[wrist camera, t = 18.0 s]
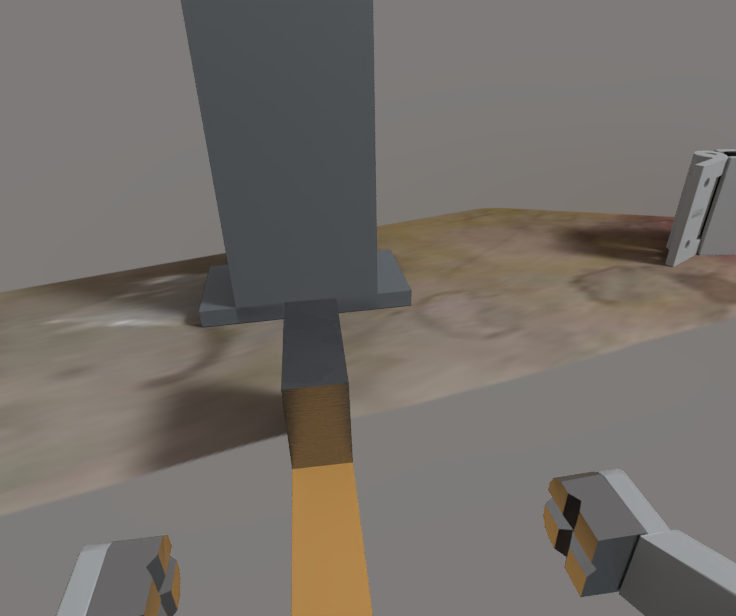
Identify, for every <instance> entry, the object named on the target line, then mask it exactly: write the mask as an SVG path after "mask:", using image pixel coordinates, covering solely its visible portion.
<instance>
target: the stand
mask: <svg viewBox="0 0 736 616" xmlns="http://www.w3.org/2000/svg"><path fill="white" fill-rule="evenodd" d="M181 4H182V10H183V15H184V21H185V27H186V32H187V38H188V44H189V49H190V54H191V60H192V65H193V72H194V77H195V83H196V88H197V94H198V99H199V105H200V111H201V116H202V121H203V127H204V133H205V139H206V144H207V149H208V155H209V161H210V166H211V172H212V178H213V183H214V189H215V194H216V200H217V205H218V211H219V217H220V222H221V228H222V233H223V239H224V245H225V250H226V256H227V261H228V265H216V266H210V268H209V272H208V276H207V280H206V284H205V288H204V292H203V297H202V301H201V305H200V309H199V315H200V320H201V324H202V327H209V326H218V325H228V324H237V323H247V322H256V321H266V320H275V319H284V302H295V301H308V300H320V299H333V298H336V301H337V308H338V313H342V312H351V311H361V310H370V309H380V308H389V307H399V306H408V305H411V288H410V287H409V285H408V283H407V281H406V279H405V277H404V275H403V273H402V271H401V269H400V267H399V265H398V264H397V262H396V260H395V258H394V256H393V254H392V252H391V250H384V251H377V223H376V167H375V166H376V161H375V102H374V101H375V99H374V98H375V97H374V36H373V0H181Z"/></svg>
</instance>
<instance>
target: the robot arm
mask: <svg viewBox="0 0 736 616" xmlns="http://www.w3.org/2000/svg"><path fill="white" fill-rule="evenodd" d="M548 490H549V492H550V494H551V496H552V498H551V499H550V500H549V501H548V502H547V503H546V504H545V508H544V514H543V516H544V523H545V528H546V531H547V534H548V537H549V539H550V541H551V543H552V545H553V547H554V548H555V549H556V550H557V551H559V552H560V553H562V554H563V555H564V556H566V561H565V569H566V571H567V573H568V575H569V577H570V579H571V580H572V582H573V584H574V586H575V588H576V590H577V591H578V593H579V595H580V597H585V596H592V595H599V594H606V593H613V592H619V591H620V592H619V594H620V595H621V596H622V597H623V598H624V599H626V600H627V601H628V602H629V603H630V604H631V605H633V606H634V607H635V608H636V609H637V610H639V611H640V612H641V613H642V614H644V615H645V616H736V563H734V562H732V561H731V560H729V559H727V558H726V557H724V556H722V555H720V554H719V553H717V552H715V551H713V550H712V549H710V548H708V547H707V546H705V545H703V544H701V543H700V542H698V541H696V540H694V539H693V538H691V537H689V536H687V535H686V534H684V533H682V532H680V531H679V530H670V529H669V528H668V526H666V524H665V523H664V521H663V520H662V519H661V518H660V516H659V515H658V514H657V513H656V511H655V510H654V509H653V508H652V506H651V505H650V504H649V503H648V501H647V500H646V499H645V497H644V496H643V495H642V494H641V492H640V491H639V490H638V489H637V487H636V486H635V485H634V484H633V483H632V481H631V480H630V479H629V478H628V476H627V475H626V474H625V473H624V472H623V471H622V470H620V469H612V470H605V471H599V472H588V473H582V474H576V475H570V476H563V477H557V478H553V480H552V481H551V482H550V485H549V489H548ZM171 547H172V545H171V542H170V540H169V537H168V535H165V536H156V537H148V538H140V539H131V540H124V541H123V540H122V541H114V542H106V543H100V544H92V545H86V546H85V547H84V548H83V550H82V551H81V552H80V554H79V556H78V559H77V561H76V563H75V566H74V569H73V571H72V574H71V577H70V579H69V582H68V585H67V587H66V590H65V592H64V595H63V598H62V600H61V603H60V605H59V608H58V611H57V613H56V616H173V615H174V614H175V613H176V611H177V610H178V604H179V597H180V573H179V566H178V563H177V560H176V559H174V558H172V557H171V556H170V553H171Z"/></svg>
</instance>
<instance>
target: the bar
mask: <svg viewBox="0 0 736 616" xmlns="http://www.w3.org/2000/svg"><path fill="white" fill-rule="evenodd" d="M281 391H282V399H283V406H284V413H285V420H286V427H287V435H288V441H289V449H290V456H291V463H292V610H291V611H292V613H291V614H292V615H291V616H373V613H372V606H371V598H370V590H369V583H368V575H367V567H366V561H365V552H364V545H363V537H362V530H361V521H360V514H359V506H358V500H357V491H356V483H355V475H354V468H353V457H352V438H351V419H350V400H349V382H348V376H347V369H346V362H345V355H344V349H343V342H342V335H341V328H340V321H339V315H338V308H337V301H336V298H333V299H320V300H308V301H295V302H284V329H283V356H282V384H281Z"/></svg>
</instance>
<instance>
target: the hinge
mask: <svg viewBox="0 0 736 616" xmlns="http://www.w3.org/2000/svg"><path fill="white" fill-rule="evenodd" d="M666 248H667V249H669V253H668V256H667V259H666V263H665V265H668V266H671V267H674V266H676V265H677V264H679V263H681V262H683V261H685V260H687V259H688V258H690V257H692V256H694V255H696V254H698V255H736V149H727V150H726V149H725V150H714V151H696V152H694V154H693V157H692V161H691V164H690V168H689V172H688V174H687V177H686V181H685V184H684V187H683V191H682V194H681V198H680V201H679V205H678V208H677V211H676V215H675V218H674V221H673V225H672V228H671V232H670V236H669V239H668V242H667V246H666Z"/></svg>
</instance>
